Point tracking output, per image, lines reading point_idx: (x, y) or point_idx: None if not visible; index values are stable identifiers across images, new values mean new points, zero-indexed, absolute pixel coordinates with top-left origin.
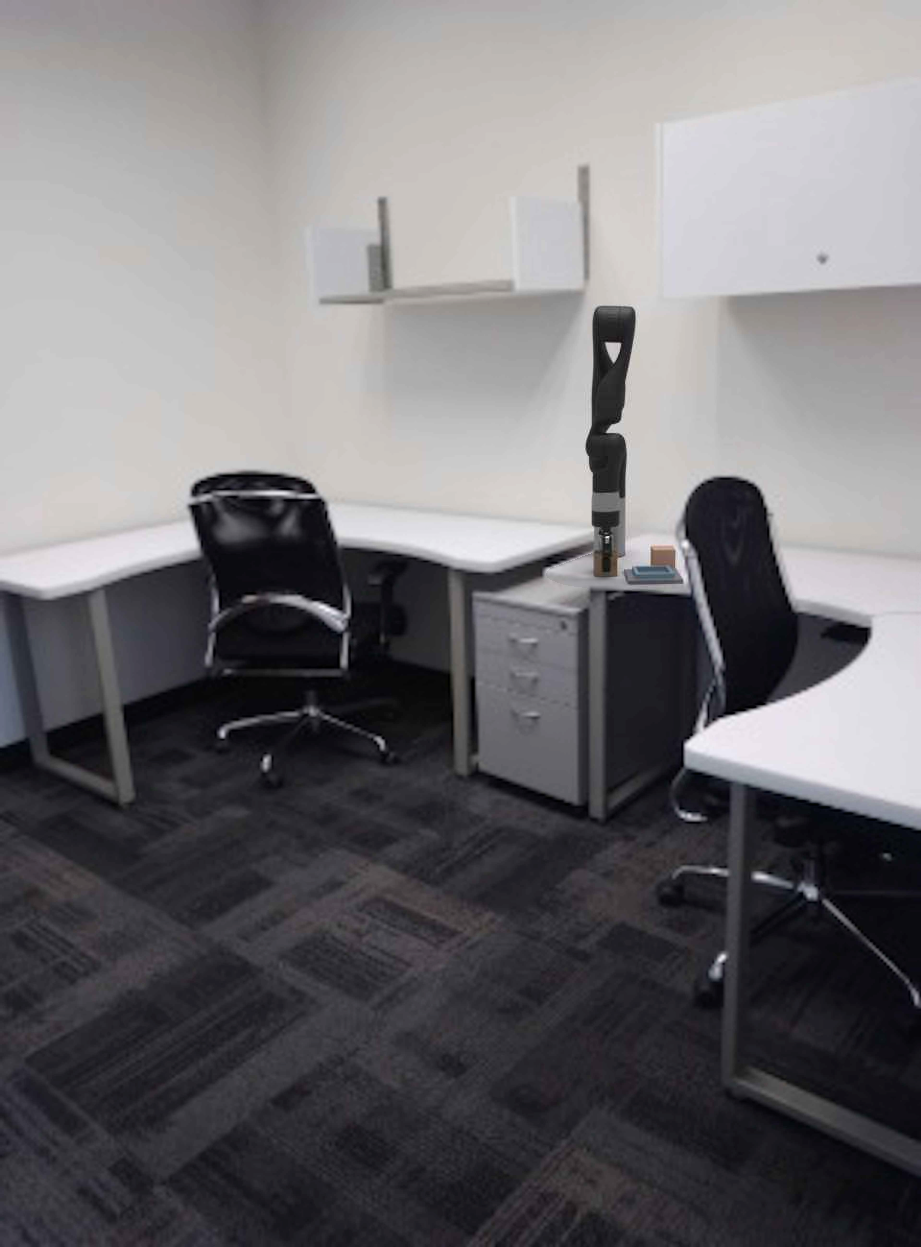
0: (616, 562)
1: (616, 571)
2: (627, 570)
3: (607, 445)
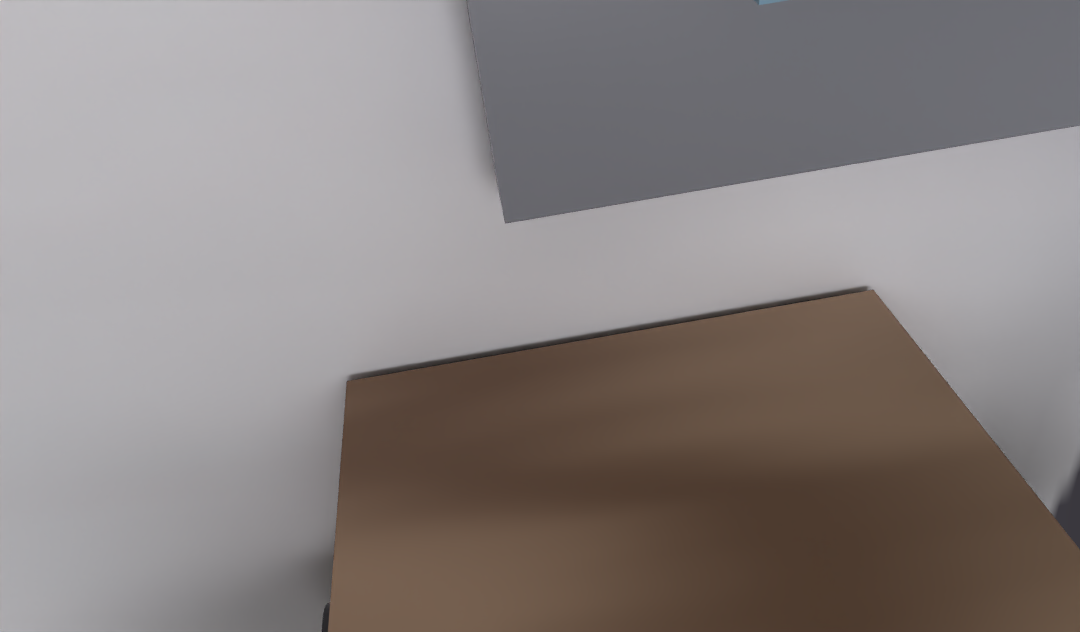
0: (1057, 545)
1: (918, 367)
2: (697, 107)
3: None
